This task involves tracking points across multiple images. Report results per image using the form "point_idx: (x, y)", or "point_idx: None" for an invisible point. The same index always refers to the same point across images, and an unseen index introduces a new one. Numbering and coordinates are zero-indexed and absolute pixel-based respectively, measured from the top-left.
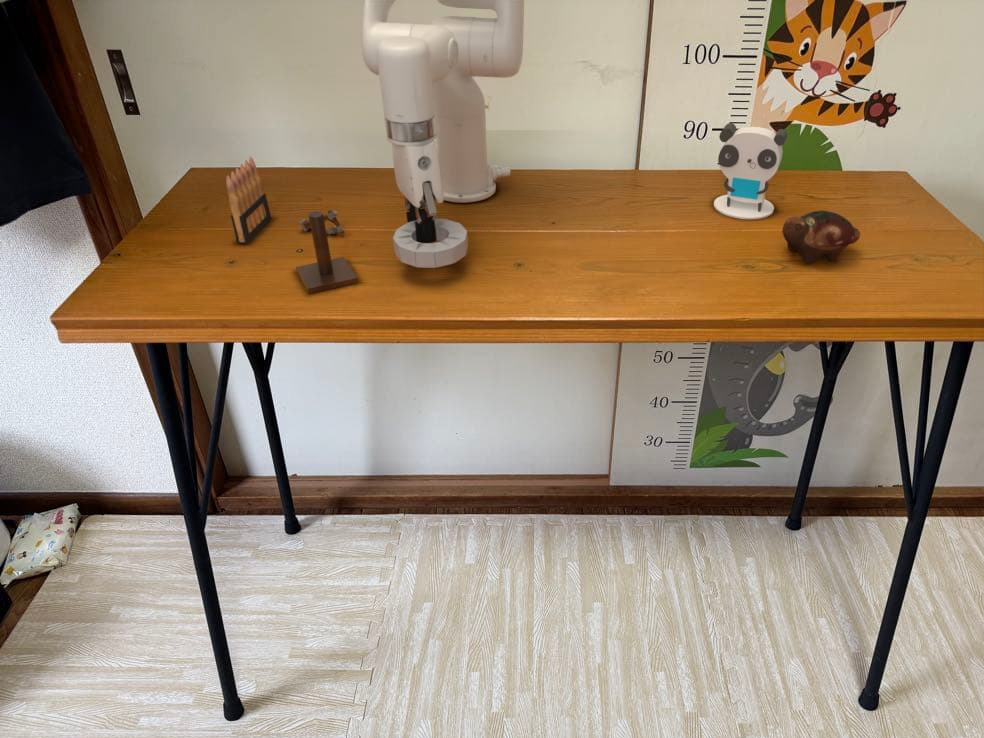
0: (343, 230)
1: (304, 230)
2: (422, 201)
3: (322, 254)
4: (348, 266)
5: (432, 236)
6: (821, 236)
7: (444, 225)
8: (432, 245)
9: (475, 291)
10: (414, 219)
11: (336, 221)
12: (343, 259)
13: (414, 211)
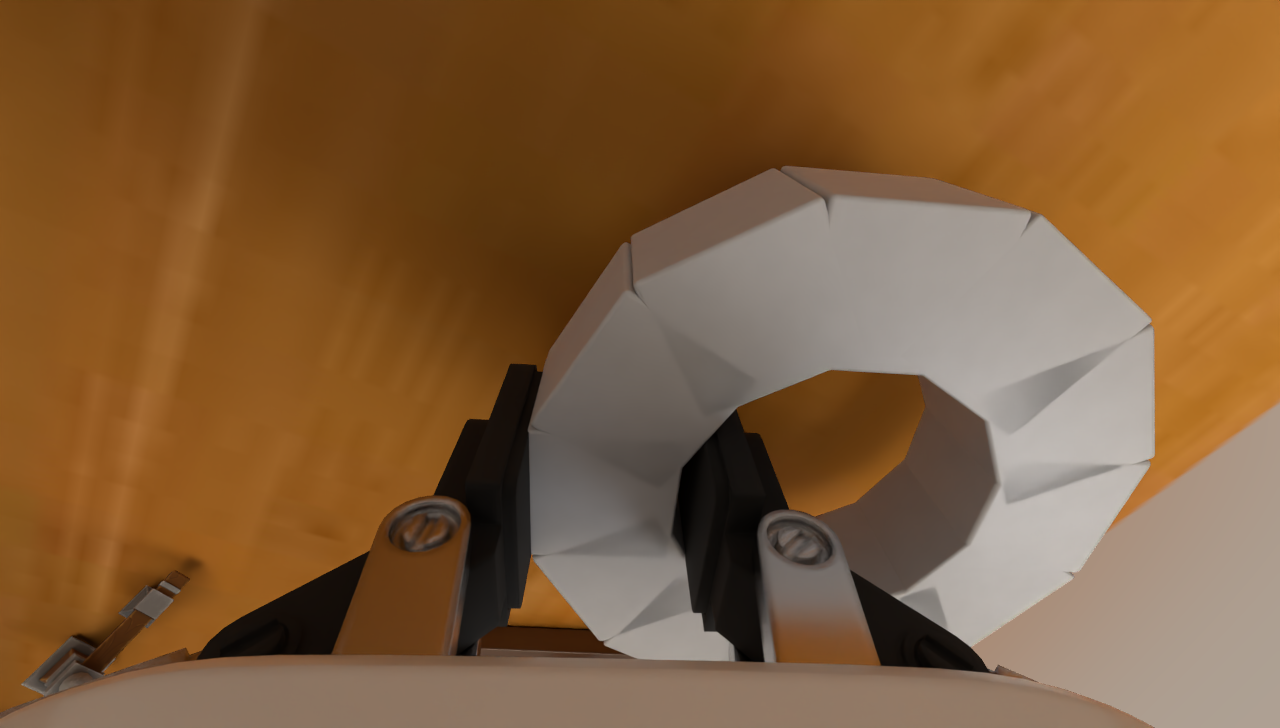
0: (165, 579)
1: (108, 664)
2: (463, 576)
3: None
4: (563, 656)
5: (762, 440)
6: None
7: (768, 356)
8: (992, 555)
9: (1127, 275)
10: (526, 527)
11: (122, 643)
12: (491, 653)
13: (506, 579)
